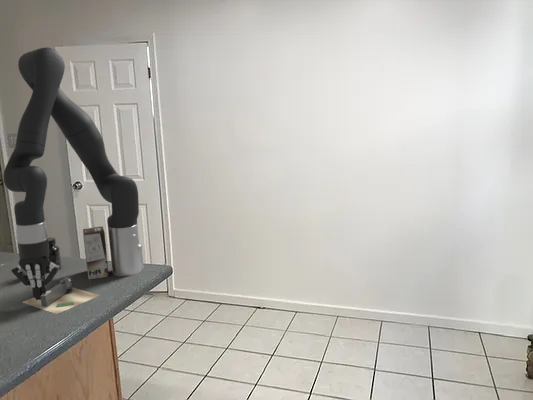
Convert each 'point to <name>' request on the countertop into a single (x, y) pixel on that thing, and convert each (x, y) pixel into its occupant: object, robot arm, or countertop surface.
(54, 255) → the supplement bottle
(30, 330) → the countertop surface
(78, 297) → the board
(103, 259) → the coffee box
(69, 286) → the tuning lever
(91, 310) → the countertop surface
